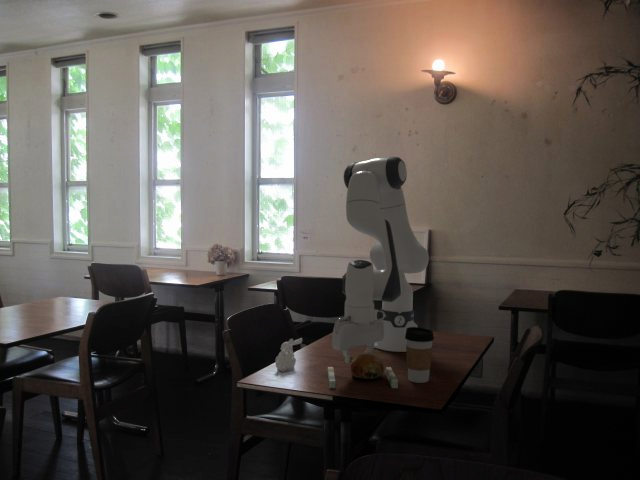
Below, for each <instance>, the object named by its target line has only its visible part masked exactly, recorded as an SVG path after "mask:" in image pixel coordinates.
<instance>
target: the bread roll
mask: <svg viewBox="0 0 640 480" xmlns="http://www.w3.org/2000/svg"><path fill="white" fill-rule="evenodd" d="M384 369H385V367H384V363H383V361H382V360H381V358H379V357H378V356H376V355H374V354H368V353H367V354H364V353H360V354H358V355H357V356H356V357H355V358H354V359H352V362H350V373H351V376H353V377H355V378H358V379H365V380H366V379H367V380H368V379H371V380H373V379H378V378H380V377H382V375H383V374H384Z"/></svg>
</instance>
